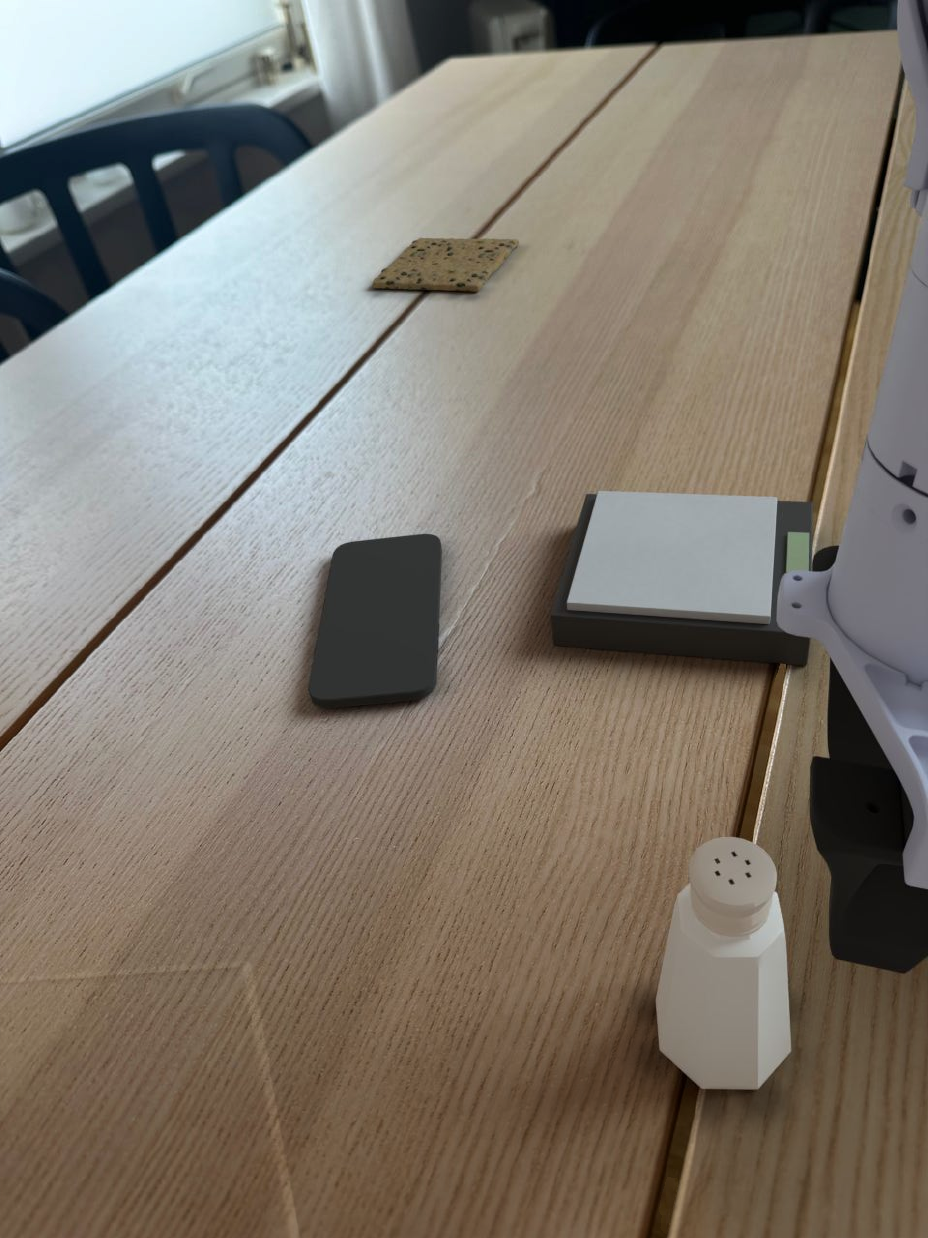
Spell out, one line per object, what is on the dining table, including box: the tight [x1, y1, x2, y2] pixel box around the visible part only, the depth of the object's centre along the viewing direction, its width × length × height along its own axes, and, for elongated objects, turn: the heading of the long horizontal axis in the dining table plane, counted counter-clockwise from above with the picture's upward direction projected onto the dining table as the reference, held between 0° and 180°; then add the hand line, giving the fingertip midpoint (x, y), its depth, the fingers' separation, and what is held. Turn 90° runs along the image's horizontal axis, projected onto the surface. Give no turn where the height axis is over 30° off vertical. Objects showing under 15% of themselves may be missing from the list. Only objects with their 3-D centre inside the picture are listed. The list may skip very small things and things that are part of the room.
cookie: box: [372, 237, 520, 292], centre depth 101 cm, size 12×12×1 cm
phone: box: [308, 533, 443, 709], centre depth 61 cm, size 7×1×15 cm
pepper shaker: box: [655, 836, 792, 1090], centre depth 36 cm, size 5×5×11 cm
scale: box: [549, 490, 814, 667], centre depth 58 cm, size 14×12×3 cm
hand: (864, 848), depth 30 cm, fingers open, 7 cm apart
